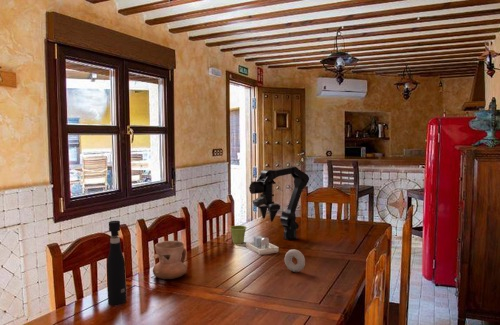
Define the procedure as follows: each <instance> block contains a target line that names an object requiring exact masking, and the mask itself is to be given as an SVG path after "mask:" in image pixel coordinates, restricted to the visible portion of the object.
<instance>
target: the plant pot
mask: <svg viewBox="0 0 500 325" xmlns="http://www.w3.org/2000/svg"><path fill="white" fill-rule="evenodd" d="M229 229H230V231H231V238H232V243H233V244H235V245H237V244H238V245H239V244H244V243H245V242H244V241H245V236H246V235H245V234H246V230H247V226H245V225H232V226H230V227H229Z"/></svg>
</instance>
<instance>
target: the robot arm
mask: <svg viewBox="0 0 500 325" xmlns="http://www.w3.org/2000/svg"><path fill="white" fill-rule="evenodd" d="M287 175H291V177H292V178H293V184H294V188H293V191H292V192H291V197H290V200H289V203H288V205H287V209H286V210H285V211H281V215H280V217H279V218H280V220H279V221H280V223H281V225H282V227H283V229H284V230H283V237H282V238H283V239H286V240H287V241H291V240H298V239H299V238H298V237H297V230H298V229H299V227H300V225H299V224H298V222H296V218H297V216H296V210H297V207H298V204H299V201H300V198H301V195H302V193H303V190H304V188H305V187H307V185H308V184H309V181H310V177H309V175H308V174H307V173H305V172H304V171H302V170H300V168H299V167H297V166H295V165H294V166H293V165H290V166H288V167H287V166H286V167H282V168H277V169H262V170H261V171H260V173H259V176H258V177H257V179H256V180H255V181H254V180H252V181H250V182H251V183H250V184H249V187H248V190H249V192H250V194H251V195H255V194H256V195H257V194H260V196H259V197H257V198H254V199H253V200H252V203H253V206H254V207H256V208H258V209H259V210H260V214H261V217H262V219H264V220H265V219H266V216H267V212H268V213H269V218H270V222H271V223H273V222H274V220H275V218H276V216H277V214H278V212H279V211H280V210H281V205H280V204H279V203H277V202H276V203H275V201H274V200H273V197H274V196H275V194H274V193H273V191H274V190H273V185H276V183H277V182H276V181H274V180H275V179H277V178H279V177H282V176H287Z"/></svg>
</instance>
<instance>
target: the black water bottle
mask: <svg viewBox="0 0 500 325" xmlns="http://www.w3.org/2000/svg"><path fill="white" fill-rule="evenodd" d="M108 231H109V232H110V238H109V240H110V241H109V252H108V255H107V261H106V278H107V279H106V284H107V302H108V305H109V306H114V307H115V306H121V305H125V303H126V302H127V283H126V282H127V277H126V262H125V256H124V254H123V251H122V246H121V244H122V243H121V240H120V237H119V232H120V231H121V221H120V220H111V221H109V222H108Z"/></svg>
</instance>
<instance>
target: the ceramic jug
mask: <svg viewBox="0 0 500 325" xmlns="http://www.w3.org/2000/svg"><path fill="white" fill-rule="evenodd" d="M154 248H155V252H156V253H155V254H154V255H153V256H152V257H153V259H158V260H159V262H157V263H156V264H155V265H154V266H153V268H152V274H153V275H154V276H155V277H156V278H159V279H161V280H174V279H177V278H181V277H183V276H184V275H185V274H186V273H187V272H188V271H187V270H188V268H187V267H188V266H187V265H186V264H185V263H184V262H185V260H186V258H187V250H186V249H187V248H185V243H184V242H183V241H179V240H164V241H160V242H157V243H156V244H155V245H154Z"/></svg>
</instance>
